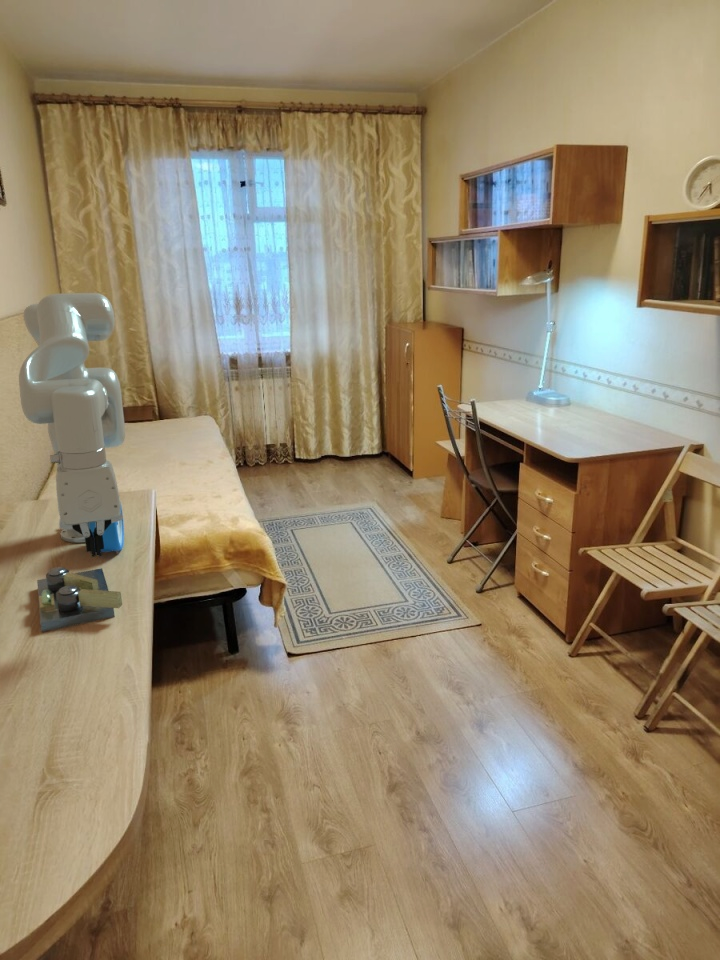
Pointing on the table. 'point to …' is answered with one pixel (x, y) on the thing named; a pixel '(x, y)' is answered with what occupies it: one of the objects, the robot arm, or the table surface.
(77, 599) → the knob
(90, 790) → the table surface
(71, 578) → the knob
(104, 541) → the alarm clock
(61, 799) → the table surface
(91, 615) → the control panel
